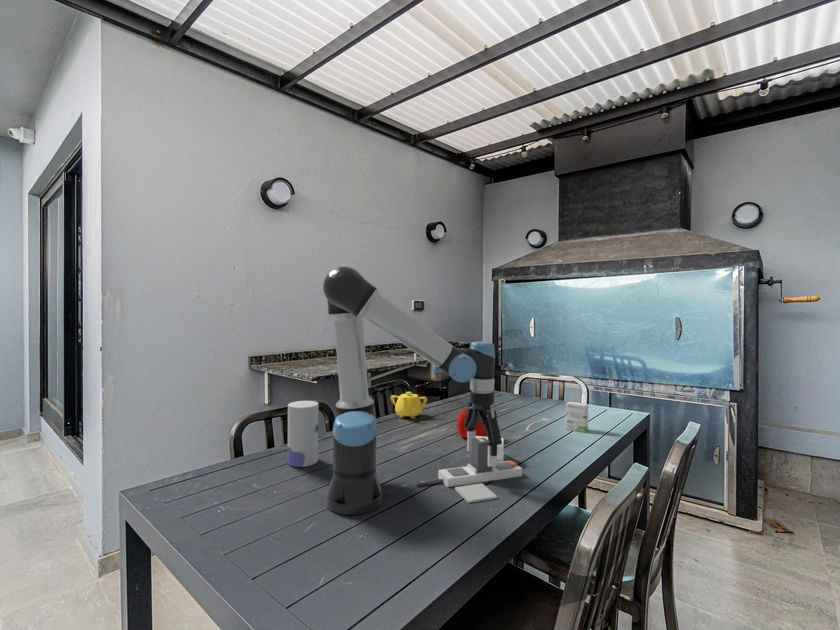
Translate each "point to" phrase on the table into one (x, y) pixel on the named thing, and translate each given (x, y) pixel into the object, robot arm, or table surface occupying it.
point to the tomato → (461, 419)
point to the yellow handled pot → (408, 404)
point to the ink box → (577, 417)
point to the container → (302, 433)
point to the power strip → (475, 474)
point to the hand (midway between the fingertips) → (481, 457)
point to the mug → (498, 449)
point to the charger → (480, 454)
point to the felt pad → (475, 493)
